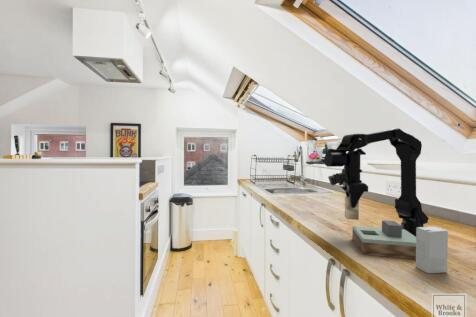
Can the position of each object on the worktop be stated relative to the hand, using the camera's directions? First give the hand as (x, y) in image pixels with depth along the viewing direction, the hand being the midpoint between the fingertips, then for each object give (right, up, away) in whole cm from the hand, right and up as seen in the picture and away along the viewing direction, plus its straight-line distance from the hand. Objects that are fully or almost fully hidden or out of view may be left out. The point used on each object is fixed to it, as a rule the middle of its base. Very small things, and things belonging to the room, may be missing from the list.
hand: (351, 206), depth 89 cm
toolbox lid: (+8, -9, -8) cm, 15 cm away
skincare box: (+12, -14, -23) cm, 29 cm away
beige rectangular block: (0, -5, 0) cm, 4 cm away
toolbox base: (+8, -13, -8) cm, 17 cm away
